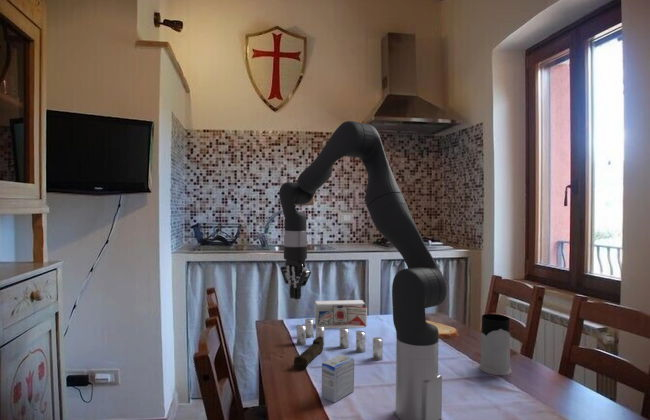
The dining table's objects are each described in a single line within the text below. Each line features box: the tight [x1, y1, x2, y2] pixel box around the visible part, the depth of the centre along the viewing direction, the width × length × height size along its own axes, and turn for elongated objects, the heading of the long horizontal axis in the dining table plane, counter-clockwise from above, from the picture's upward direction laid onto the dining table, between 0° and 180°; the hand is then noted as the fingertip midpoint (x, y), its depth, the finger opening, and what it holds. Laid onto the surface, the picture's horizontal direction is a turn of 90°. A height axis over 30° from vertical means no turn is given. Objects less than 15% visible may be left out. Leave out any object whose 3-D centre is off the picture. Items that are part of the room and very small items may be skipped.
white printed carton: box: [314, 299, 368, 329], centre depth 160 cm, size 20×6×9 cm, turn 96°
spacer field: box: [296, 318, 384, 361], centre depth 135 cm, size 33×13×6 cm, turn 43°
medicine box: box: [321, 354, 355, 403], centre depth 102 cm, size 8×4×9 cm, turn 141°
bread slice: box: [426, 320, 460, 339], centre depth 154 cm, size 18×18×4 cm
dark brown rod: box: [293, 337, 324, 371], centre depth 126 cm, size 19×4×5 cm, turn 158°
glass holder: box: [478, 313, 512, 376], centre depth 121 cm, size 9×14×15 cm, turn 178°
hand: (295, 298), depth 132 cm, fingers closed
